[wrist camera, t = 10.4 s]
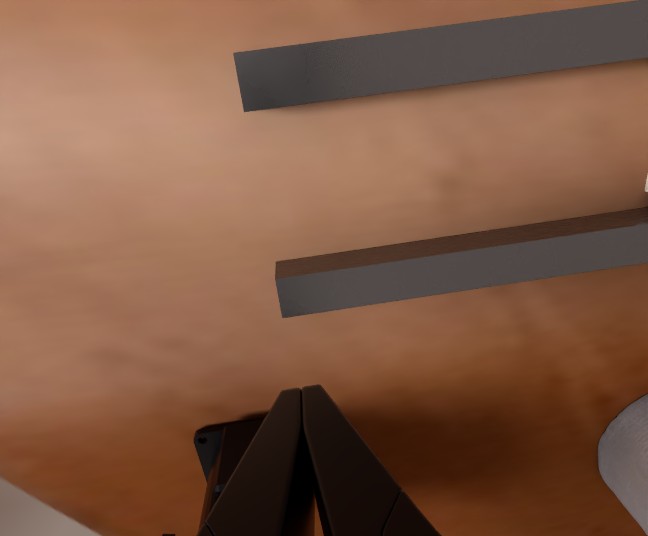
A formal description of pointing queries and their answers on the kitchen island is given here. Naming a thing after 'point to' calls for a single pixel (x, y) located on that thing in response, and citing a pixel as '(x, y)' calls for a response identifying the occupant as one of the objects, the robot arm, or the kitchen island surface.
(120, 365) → the kitchen island surface
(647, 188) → the block
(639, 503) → the pillar candle
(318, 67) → the track
